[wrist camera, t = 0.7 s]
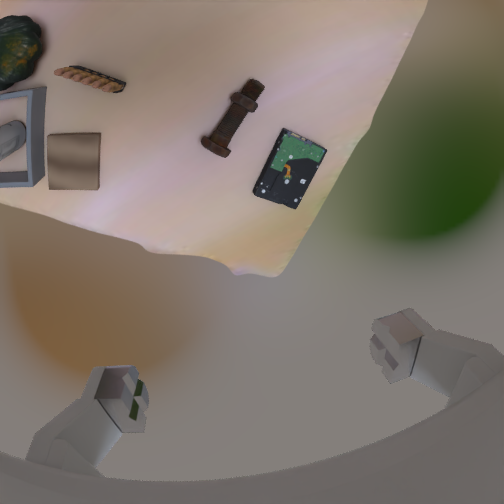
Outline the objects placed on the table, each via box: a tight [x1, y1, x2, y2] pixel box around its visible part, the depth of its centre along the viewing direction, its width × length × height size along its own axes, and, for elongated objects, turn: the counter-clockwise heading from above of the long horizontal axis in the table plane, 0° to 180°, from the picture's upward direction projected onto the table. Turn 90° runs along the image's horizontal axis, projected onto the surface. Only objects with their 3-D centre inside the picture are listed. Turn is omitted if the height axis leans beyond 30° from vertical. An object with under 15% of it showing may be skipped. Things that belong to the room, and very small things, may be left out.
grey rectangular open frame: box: [0, 87, 47, 188], centre depth 35 cm, size 18×14×6 cm
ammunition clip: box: [54, 66, 126, 93], centre depth 33 cm, size 11×2×12 cm, turn 58°
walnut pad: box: [47, 133, 101, 190], centre depth 44 cm, size 11×11×2 cm
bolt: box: [201, 79, 265, 158], centre depth 47 cm, size 6×5×15 cm
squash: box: [0, 15, 42, 91], centre depth 23 cm, size 14×15×15 cm
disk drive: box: [253, 128, 327, 209], centre depth 57 cm, size 10×3×15 cm
